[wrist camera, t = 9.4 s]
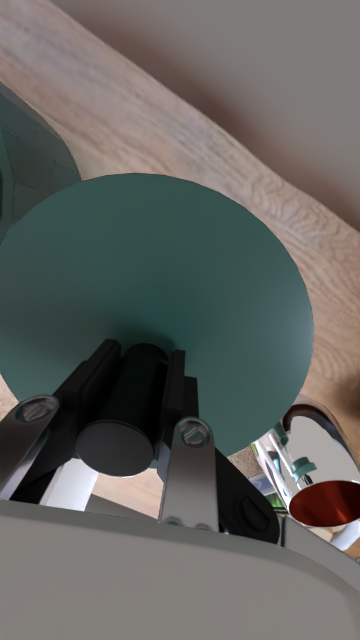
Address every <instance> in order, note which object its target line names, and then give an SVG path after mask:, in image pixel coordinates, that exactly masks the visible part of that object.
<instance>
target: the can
mask: <svg viewBox="0 0 360 640" xmlns="http://www.w3.org/2000/svg"><path fill="white" fill-rule="evenodd" d="M98 474H99V472H96V471H94V470H93V469H91V468H90V467H88V466H87V465H86V464H84V463H83V462H82V460H81V459H73V458H72V459H71V460H70V461H68V462H67V463H65V465H64V467H63V470H62V472H61V474H60V476H59V478H58V480H57V482H56V484H55V486H54V489H53V491H52V493H51V495H50V497H49V499H48V501H47V503H46V505H45V506H51V507H58V508H65V509H71V510H78V511H84V509H85V506H86V504H87V501H88V499H89V497H90V494H91V491H92V489H93V486H94V484H95V481H96V479H97V476H98Z"/></svg>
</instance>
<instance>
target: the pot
mask: <svg viewBox="0 0 360 640" xmlns="http://www.w3.org/2000/svg"><path fill="white" fill-rule="evenodd" d="M78 182H81V178H80V174H79V171H78V168H77V166H76V164H75V161H74V159H73V157H72V155H71V153H70V151H69V150H68V148H67V146H66V145H65V143H64V142H63V140H62V139H61V137H60V136H59V135H58V134H57V133H56V131H55V130H54V129H53V128H52V127H51V126H50V125H49V124H48V123H47V122H46V120H45V119H44V118H43V117H42V116H41V115H39V114H38V113H37V112H36V111H35V110H34V109H32V108H31V107H30V106H29V105H28V104H27V103H25V102H24V101H23V100H22V99H21V98H19V97H18V96H17V95H16V94H15V93H14V92H12V91H11V90H10V89H9V88H8V87H6V86H5V85H4V84H3V83H2V82H1V81H0V247H1V245H2V243H3V241H4V240H5V238H6V237H7V236H8V234H9V233H10V232H11V230H12V229H13V228H14V226H15V225H16V223H17V222H18V221H20V220H21V219H22V218H23V217H24V216H25V215H26V214H27V213H28V212H29V211H30V210H31V209H32V208H33V207H34V206H36V205H37V204H39V203H40V202H42V201H43V200H45V199H46V198H48V197H49V196H51V195H53V194H54V193H56V192H58V191H60V190H62V189H65V188H67V187H69V186H72V185H74V184H76V183H78Z"/></svg>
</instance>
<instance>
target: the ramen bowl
mask: <svg viewBox="0 0 360 640" xmlns="http://www.w3.org/2000/svg"><path fill="white" fill-rule="evenodd" d="M249 481H250V482H251V483H252V484H253V485H254V486H255V487H256V488H257V489H258V490H259V491H260V492H261V493H262V494H263V495H264V496H265V497H266V498H267V499H268V501H269V502H270V503H271V504H272V506H273V508H274V510H275V512H276V513H277V514H279V515H280V516H282V517H283V518H284V516H285V515H287V516H289V517H290V518H292V517H291V516H290V514H289V513H288V511H287V509H286V508H285V506H284V505H283V503H282V501H281V500H280V498H279V496H278V495H277V493H276V491H275V490H274V488H273V486H272V485H271V483H270V481H269V480H268V478H267V476H266V475H265V473H261V474H258V475H255V476H254V477H252V478H251V479H250V480H249ZM292 519H293V518H292ZM293 520H294V519H293ZM296 522H297V521H296ZM299 524H300V523H299ZM301 525H303V524H301ZM303 526H304V527H306V528H307V529H309V530H310V531H312V532H313V533H315V534H317V535H318V536H320V537H321V538H323V539H324V540H326V541H327V542H329V543H331V544H332V545H334V546H335V547H337V548H338V549H340V550H342V551H344V550H346V549H348V548H349V547H350V546H351V545H352V544H353V543H354V542H355V541H356V540H357V539H358V538H359V537H360V519H359V520H357V521H355V522H353V523H350V524H347V525H344V526H340V527H334V528H314V527H309V526H305V525H303Z"/></svg>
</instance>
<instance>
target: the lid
mask: <svg viewBox="0 0 360 640" xmlns="http://www.w3.org/2000/svg"><path fill="white" fill-rule="evenodd" d="M105 339H114V340H117V341H118V343H121V359H120V362H119V363H118V365H117V367H116V369H115V370H114V372H113V374H112V375H111V377H110V379H109V380H108V382H107V384H106V385H105V387H104V389H103V391H102V392H101V394H100V396H99V397H98V399H97V401H96V402H95V404H94V406H93V408H92V409H91V411H90V413H89V414H88V416H87V418H86V419H85V421H84V423H83V424H82V426H81V428H80V430H79V431H78V433H77V435H76V438H75V450H76V453H77V455H78V457H79V458H80V459H81V460H82V462H83V463H84V464H86V465H87V466H88V467H90V468H91V469H93V470H94V471H96V472H99V473H101V474H104V475H108V476H112V477H130V476H135V475H138V474H140V473H142V472H144V471H145V470H147V469H148V468H151V469H157V467H158V462H157V461H153V460H154V457H155V452H156V446H157V440H158V425H159V419H160V412H161V406H162V400H163V394H164V388H165V383H166V377H167V371H168V366H169V360H170V354H171V351H173V352H175V349H178V350H184V351H186V352H185V374H184V376H190V377H196V378H197V382H198V402H199V418H200V419H202V420H203V421H205V422H206V423H207V424H208V425H209V426H210V427H211V429H212V431H213V434H214V445H215V447H216V448H217V449H218V450H219V451H220V452H221V453H222V454H223V455H224V456H225V457H227V456H230V455H232V454H234V453H236V452H238V451H240V450H242V449H244V448H246V447H248V446H249V445H251V444H252V443H254V442H255V441H257V440H258V439H260V438H261V437H262V436H264V435H265V434H266V433H267V432H268V431H270V430H271V429H272V428H273V427H274V426H275V425H276V424H277V423H278V422H279V421H280V420H281V419H282V418H283V417H284V415H285V414H286V413H287V411H288V410H289V408H290V407H291V406H292V404H293V403H294V401H295V400H296V398H297V396H298V394H299V392H300V390H301V389H302V387H303V384H304V381H305V379H306V376H307V373H308V371H309V367H310V362H311V357H312V353H313V341H314V325H313V315H312V307H311V304H310V300H309V296H308V293H307V289H306V286H305V283H304V281H303V279H302V277H301V275H300V272H299V270H298V268H297V266H296V264H295V262H294V261H293V259H292V258H291V256H290V255H289V253H288V251H287V250H286V248H285V247H284V245H283V244H282V243H281V242H280V240H279V239H278V238H277V237H276V236H275V235H274V234H273V233H272V232H271V230H270V229H269V228H268V227H267V226H266V225H265V224H264V223H263V222H262V221H260V220H259V219H258V218H257V217H255V216H254V215H253V214H252V213H251V212H249V211H248V210H247V209H246V208H245V207H243V206H241V205H240V204H238V203H236V202H235V201H233V200H231V199H230V198H228V197H226V196H225V195H223V194H221V193H220V192H217V191H215V190H212V189H210V188H207V187H205V186H202V185H200V184H197V183H195V182H192V181H188V180H184V179H179V178H175V177H171V176H167V175H159V174H146V173H126V174H114V175H105V176H101V177H97V178H93V179H89V180H85V181H81V182H78V183H76V184H74V185H72V186H69V187H67V188H65V189H62V190H60V191H58V192H56V193H54V194H53V195H51V196H49V197H48V198H46V199H45V200H43V201H42V202H40V203H39V204H37V205H36V206H34V207H33V208H32V209H31V210H30V211H29V212H28V213H27V214H26V215H25V216H24V217H23V218H22V219H21V220H20V221H18V222H17V223H16V225H15V226H14V228H13V229H12V230H11V232H10V233H9V234H8V236H7V237H6V238H5V240H4V241H3V243H2V245H1V247H0V374H1V375H2V377H3V379H4V380H5V382H6V384H7V385H8V387H9V389H10V390H11V392H12V393H13V394H14V396H15V397H16V398H17V400H18V401H19V402H22V401H23V400H25V399H27V398H30V397H32V396H36V395H41V394H48V395H52V394H53V393H54V392H55V391H56V390H57V389H58V388H59V386H60V385H61V384H62V383H63V382H64V381H65V380H66V379H67V378H68V376H69V375H70V374H71V373H72V372H73V371H74V370H75V369H76V368H77V367H78V365H79V364H80V363H81V362H82V361H84V360H86V361H87V360H88V359H89V357H90V356H91V355H92V354H93V353H94V352H95V351H96V349H97V348H98V347H99V346H100V345H101V344H102V343H103V341H104V340H105Z"/></svg>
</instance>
